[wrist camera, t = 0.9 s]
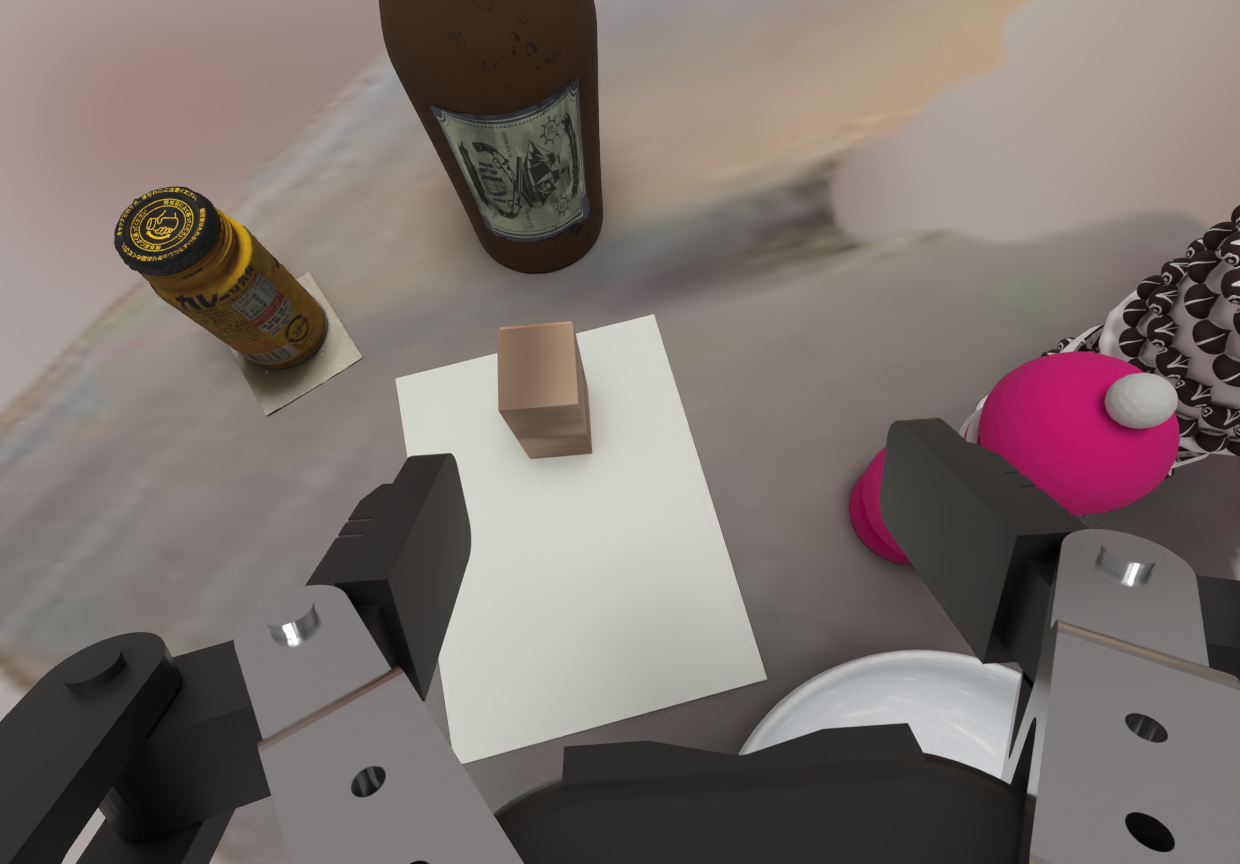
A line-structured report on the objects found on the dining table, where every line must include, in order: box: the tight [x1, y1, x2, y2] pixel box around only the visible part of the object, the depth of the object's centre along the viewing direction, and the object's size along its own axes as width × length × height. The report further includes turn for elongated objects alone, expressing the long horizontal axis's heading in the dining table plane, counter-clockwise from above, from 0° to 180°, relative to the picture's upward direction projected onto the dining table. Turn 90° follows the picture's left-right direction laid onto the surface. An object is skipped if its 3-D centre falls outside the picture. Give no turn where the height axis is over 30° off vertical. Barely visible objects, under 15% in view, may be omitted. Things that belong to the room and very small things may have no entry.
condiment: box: [114, 187, 363, 415], centre depth 37 cm, size 7×8×12 cm
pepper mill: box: [850, 351, 1180, 564], centre depth 28 cm, size 7×7×20 cm
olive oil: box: [379, 0, 603, 273], centre depth 33 cm, size 11×11×25 cm
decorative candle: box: [975, 205, 1240, 479], centre depth 27 cm, size 9×9×25 cm
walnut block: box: [497, 321, 592, 459], centre depth 36 cm, size 4×5×9 cm
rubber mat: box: [396, 314, 767, 764], centre depth 38 cm, size 18×24×1 cm
